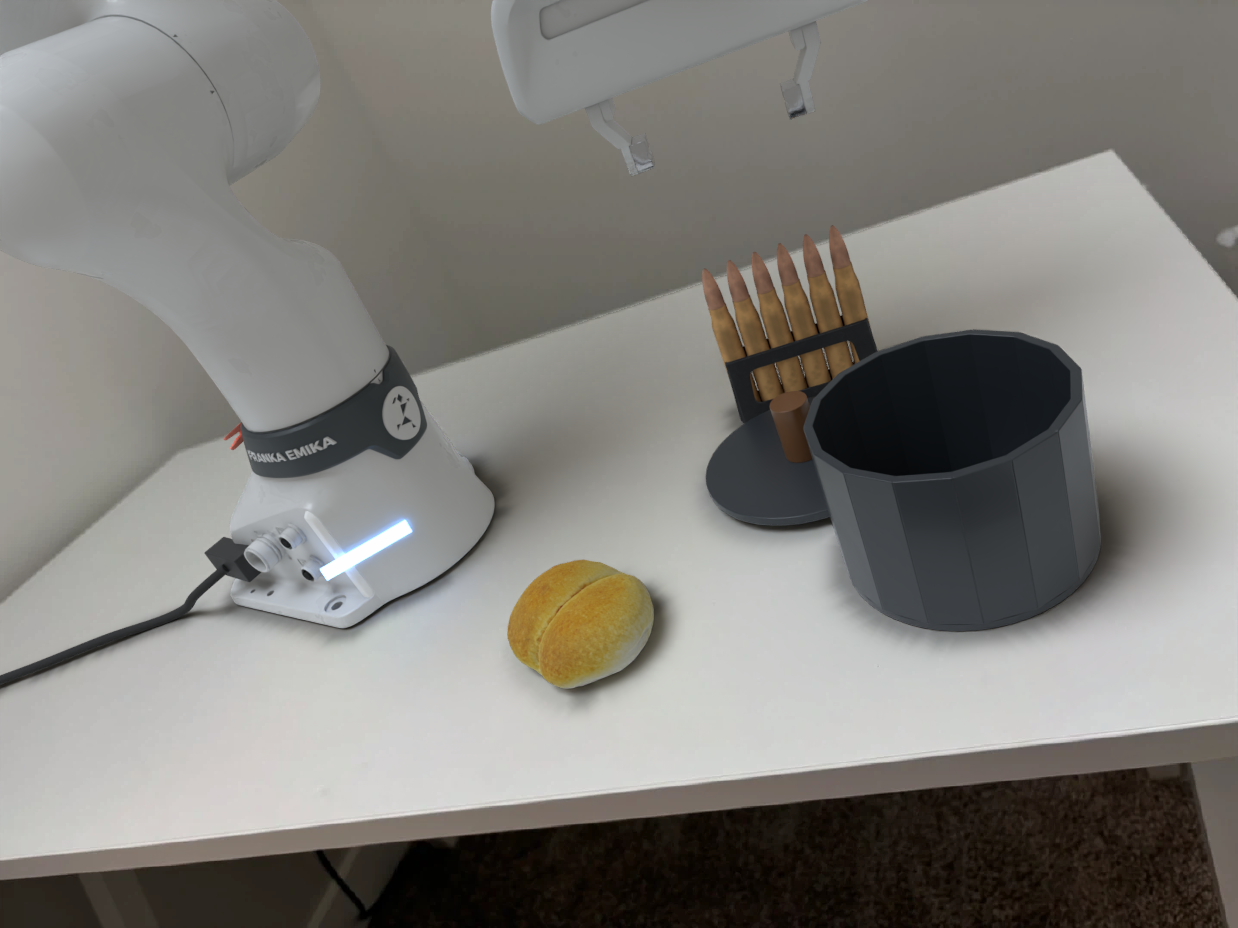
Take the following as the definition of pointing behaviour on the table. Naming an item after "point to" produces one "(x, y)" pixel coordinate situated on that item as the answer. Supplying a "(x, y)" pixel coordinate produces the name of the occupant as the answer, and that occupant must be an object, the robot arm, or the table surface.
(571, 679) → the bread roll
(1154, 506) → the table surface
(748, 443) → the lid
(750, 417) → the ammunition clip
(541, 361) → the table surface
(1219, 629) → the table surface
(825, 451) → the pot
